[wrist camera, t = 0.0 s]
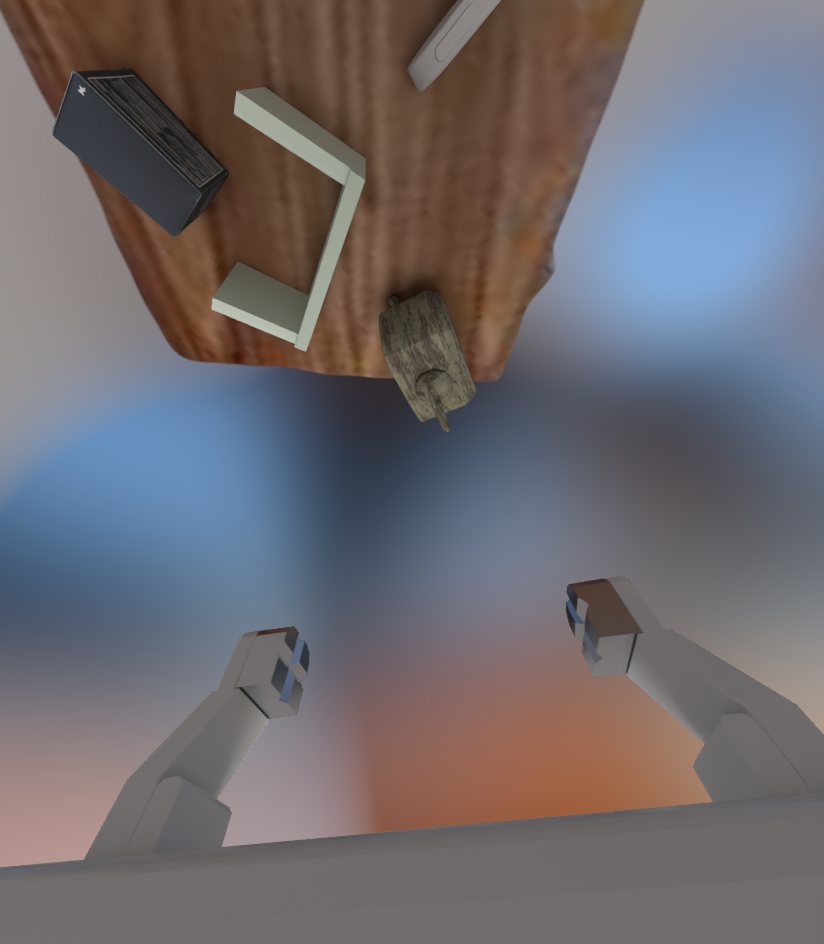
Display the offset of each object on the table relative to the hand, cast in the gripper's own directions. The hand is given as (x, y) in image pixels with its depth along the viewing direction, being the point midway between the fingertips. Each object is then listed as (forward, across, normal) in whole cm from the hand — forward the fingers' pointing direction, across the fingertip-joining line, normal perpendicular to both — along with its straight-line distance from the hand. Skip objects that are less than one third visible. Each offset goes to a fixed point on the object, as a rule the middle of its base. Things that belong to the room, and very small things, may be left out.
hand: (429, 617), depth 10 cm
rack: (+49, +12, -17) cm, 53 cm away
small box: (+46, +22, -26) cm, 58 cm away
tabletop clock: (+55, -2, -1) cm, 55 cm away
